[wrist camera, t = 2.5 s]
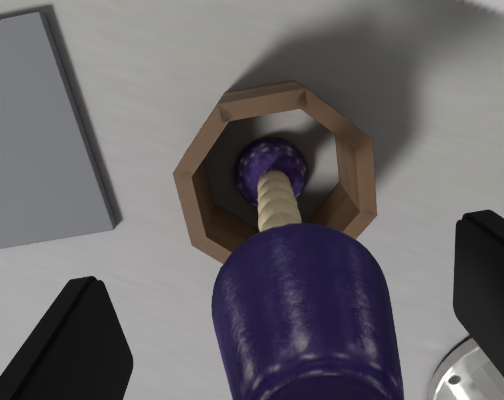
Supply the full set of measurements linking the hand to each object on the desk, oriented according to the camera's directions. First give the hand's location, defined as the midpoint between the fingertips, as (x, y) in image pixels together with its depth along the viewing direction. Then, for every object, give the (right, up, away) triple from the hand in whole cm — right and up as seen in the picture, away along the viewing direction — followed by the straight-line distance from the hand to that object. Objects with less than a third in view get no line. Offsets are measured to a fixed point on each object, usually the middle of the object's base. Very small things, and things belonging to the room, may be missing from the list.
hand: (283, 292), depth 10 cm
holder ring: (0, +4, +12) cm, 13 cm away
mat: (-16, +5, +12) cm, 21 cm away
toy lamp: (0, +4, +12) cm, 13 cm away
